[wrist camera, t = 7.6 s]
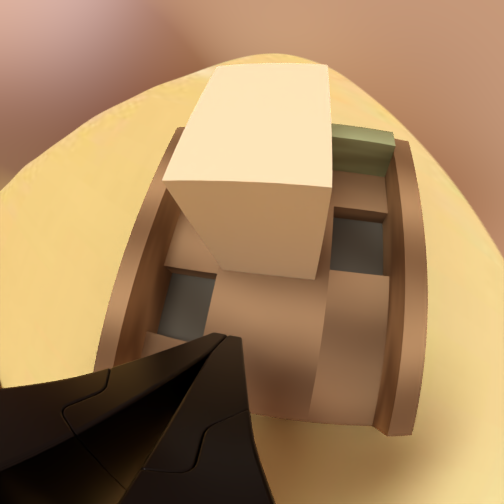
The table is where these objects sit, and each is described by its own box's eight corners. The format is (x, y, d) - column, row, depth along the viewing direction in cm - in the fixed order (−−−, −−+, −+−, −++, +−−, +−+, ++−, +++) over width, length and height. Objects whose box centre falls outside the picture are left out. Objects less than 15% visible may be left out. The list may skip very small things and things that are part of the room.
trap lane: (384, 420, 12) (416, 437, 8) (132, 374, 15) (87, 371, 11) (393, 179, 18) (410, 135, 14) (194, 163, 21) (175, 122, 17)
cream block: (314, 279, 14) (332, 187, 7) (222, 269, 15) (162, 180, 8) (321, 174, 17) (327, 64, 10) (245, 169, 18) (217, 66, 11)
